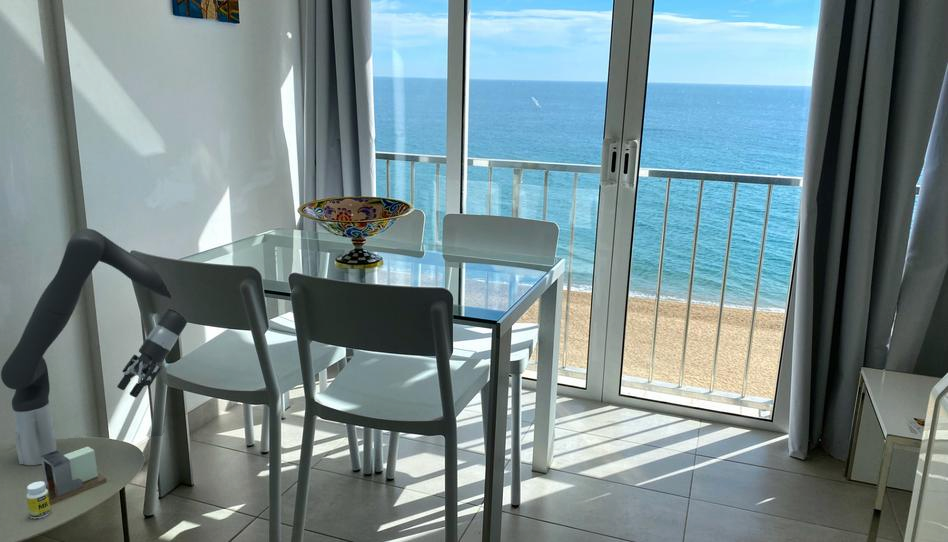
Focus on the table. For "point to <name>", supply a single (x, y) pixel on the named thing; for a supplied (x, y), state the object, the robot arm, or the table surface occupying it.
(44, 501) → the supplement bottle
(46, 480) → the base
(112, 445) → the table surface
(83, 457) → the mint green block
